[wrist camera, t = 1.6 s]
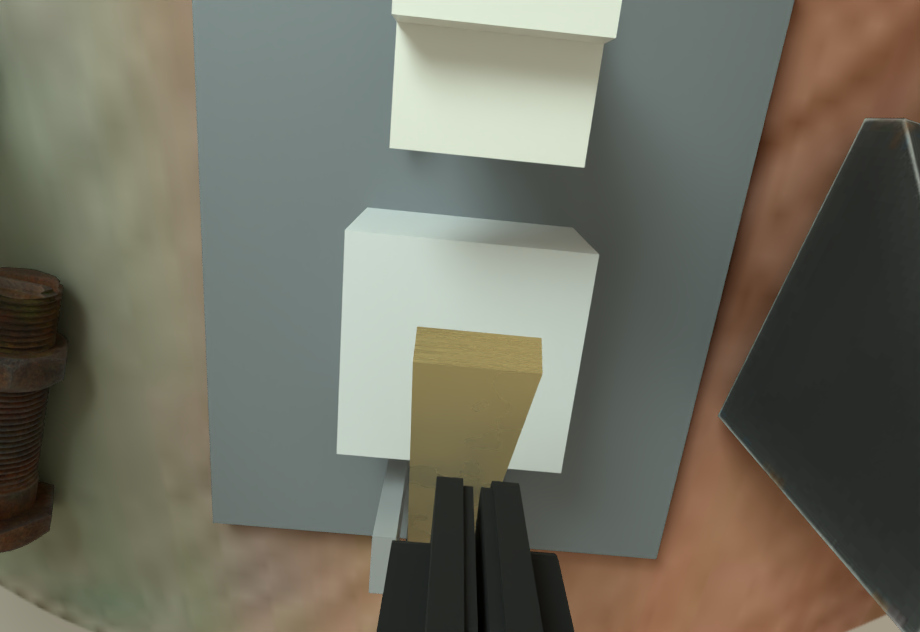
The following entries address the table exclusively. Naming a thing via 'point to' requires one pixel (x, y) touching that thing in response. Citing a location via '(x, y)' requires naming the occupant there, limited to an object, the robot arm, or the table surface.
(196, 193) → the table surface
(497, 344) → the wooden building block
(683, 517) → the table surface
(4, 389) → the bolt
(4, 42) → the table surface
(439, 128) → the block
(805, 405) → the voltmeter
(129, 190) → the table surface
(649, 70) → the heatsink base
